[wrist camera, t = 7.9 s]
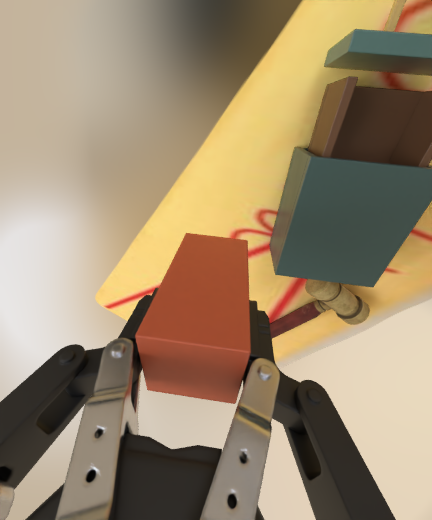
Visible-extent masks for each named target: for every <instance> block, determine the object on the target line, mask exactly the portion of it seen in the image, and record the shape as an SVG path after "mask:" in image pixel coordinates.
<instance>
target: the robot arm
mask: <svg viewBox="0 0 432 520" xmlns="http://www.w3.org/2000/svg"><path fill="white" fill-rule="evenodd" d="M158 289H159V288H156V289H155V290H154V292H153V294H152V296H151V295H146V296H144V297H143V298H142V299H141V300H140V301H139V302H138V304H137V306H136V308H135V309H134V311H133V313H132V315H131V316H130V318H129V320H128V322H127V323H126V325H125V327H124V329H123V330H122V332H121V334H120V336H119V337H118V339H115V340H113V341H111V342H110V343H109V344H108V345H107V346H106V347H103V348H99V349H92V350H86V351H85V350H84V348H83V347H82V346H80V345H76V344H75V345H69V346H66V347H64V348H62V349H60V350H59V351H58V352H57V353H55V354H54V355H53V356H52V357H51V358H50V359H49V360H47V361H46V362H45V363H44V364H43V365H42V366H41V367H40V368H38V369H37V370H36V371H35V372H34V373H33V374H32V375H30V376H29V377H28V378H27V379H26V380H25V381H24V382H23V383H21V384H20V385H19V386H18V387H17V388H16V389H15V390H13V391H12V392H11V393H10V394H9V395H8V396H7V397H6V398H4V399H3V400H2V401H1V402H0V520H5V519H6V518H7V516H8V514H9V511H10V508H11V506H12V503H13V500H14V489H15V488H16V487H17V486H18V485H19V483H20V482H21V481H22V480H23V478H24V477H25V476H26V475H27V473H28V472H29V471H30V470H31V469H32V467H33V466H34V465H35V464H36V463H37V461H38V460H39V459H40V458H41V457H42V455H43V454H44V453H45V452H46V450H47V449H48V448H49V447H50V445H51V444H52V443H53V442H54V441H55V439H56V438H57V437H58V436H59V435H60V433H61V432H62V431H63V430H64V429H65V427H66V426H67V425H68V424H69V422H70V421H71V420H72V419H73V418H74V416H75V415H76V414H77V413H78V411H79V410H80V409H81V408H82V407H83V406H84V404H85V406H84V410H83V414H82V418H81V422H80V425H79V429H78V433H77V437H76V441H75V445H74V449H73V453H72V457H71V461H70V464H69V469H68V472H67V476H66V480H65V483H64V484H63V485H62V486H61V487H60V488H59V489H58V490H57V491H55V492H54V493H53V494H52V495H51V496H50V497H49V498H48V499H47V500H46V501H45V502H44V503H43V504H41V505H40V506H39V507H38V508H37V509H36V510H35V511H34V512H33V513H32V514H31V515H30V516H29V517H28V518H27V519H25V520H264V518H263V516H262V514H261V512H260V509H259V507H258V499H259V494H260V489H261V484H262V479H263V474H264V468H265V463H266V458H267V452H268V447H269V442H270V437H271V428H272V427H271V420H272V418H273V419H274V420H276V421H278V422H280V423H282V424H283V426H284V429H285V432H286V434H287V437H288V440H289V443H290V446H291V449H292V452H293V455H294V458H295V460H296V463H297V466H298V469H299V472H300V475H301V478H302V480H303V484H304V486H305V489H306V492H307V495H308V498H309V501H310V504H311V507H312V510H313V512H314V515H315V518H316V520H396V519H395V517H394V516H393V514H392V512H391V510H390V508H389V506H388V505H387V503H386V501H385V499H384V497H383V496H382V493H381V492H380V490H379V488H378V486H377V484H376V482H375V480H374V479H373V477H372V475H371V473H370V471H369V469H368V468H367V466H366V464H365V462H364V460H363V458H362V456H361V455H360V453H359V451H358V449H357V447H356V445H355V443H354V442H353V440H352V438H351V436H350V434H349V433H348V431H347V429H346V427H345V425H344V423H343V421H342V419H341V418H340V416H339V414H338V412H337V410H336V408H335V407H334V405H333V403H332V401H331V399H330V398H329V396H328V394H327V392H326V391H325V389H324V388H323V387H322V386H321V385H319V384H318V383H316V382H314V381H311V380H304V381H302V382H301V383H300V382H298V381H296V380H294V379H292V378H289V377H288V376H286V375H284V374H283V373H282V372H281V371H280V370H279V369H278V367H277V366H276V364H275V361H274V355H273V347H272V339H271V331H270V323H269V318H268V316H267V314H266V313H265V311H259V310H257V301H251V300H249V309H250V343H251V353H250V356H249V360H248V363H247V367H246V370H245V373H244V377H243V391H242V394H241V397H240V400H239V403H238V406H237V409H236V412H235V415H234V418H233V421H232V424H231V427H230V430H229V433H228V436H227V439H226V442H225V445H224V448H223V451H222V449H217V448H212V447H206V446H200V445H197V446H191V447H185V448H179V449H170V448H168V447H166V446H164V445H163V444H161V443H159V442H157V441H156V440H154V439H152V438H150V437H145V436H140V435H138V404H139V391H140V377H141V375H140V373H141V371H142V364H141V360H140V355H139V351H138V347H137V342H136V338H135V335H136V333H137V331H138V329H139V327H140V325H141V323H142V321H143V319H144V317H145V315H146V313H147V311H148V309H149V307H150V305H151V303H152V301H153V299H154V297H155V295H156V293H157V291H158Z"/></svg>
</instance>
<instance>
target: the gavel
mask: <svg viewBox="0 0 432 520" xmlns="http://www.w3.org/2000/svg"><path fill="white" fill-rule="evenodd" d="M305 288H306V291H307V292H308V293H309V294H310V295H312V296H313V297H314V298H316V299H317V301H315V302H312V303H309V304H306V305H305V306H303V307H301V308H299V309H297V310H295V311H294V312H292V313H290V314H288V315H286V316H284V317H282V318H281V319H279V320H277V321H275V322H273V323H271V324H270V331H271V339H272V338H274V337H276V336H278V335H280V334H282V333H284V332H286V331H289V330H291V329H293V328H295V327H297V326H299V325H301V324H303V323H305V322H307V321H309V320H311V319H313V318H315V317H317V316H318V315H320V314H321V313H323V312H325V311H326V310H329V309H333V310H334V311H335V312H336V314H337V315H338V317H340V318H341V319H342V320H344V321H345V322H346V323H348V324H352V325H355V324H360V323H362V322H363V321H365V320H366V319H367V317H368V316H369V312H370V309H369V306H368V304H367V303H365V302H364V301H363V300H362V299H361V298H360V297H358V296H356V295H353V294H352V293H351V292H350V291H348V290H347V289H346V288H345V287H344V286H343V285H341V284H340V283H335V282H328V281H320V280H312V279H308V280H307V282H306V286H305Z"/></svg>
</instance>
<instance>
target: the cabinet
mask: <svg viewBox="0 0 432 520" xmlns="http://www.w3.org/2000/svg"><path fill="white" fill-rule="evenodd" d="M431 201H432V166H430V165H428V166H427V167H417V166H407V165H397V164H388V163H378V162H368V161H358V160H348V159H339V158H329V157H319V156H316V155H314V154H312V153H310V152H308V148H301V147H294V151H293V155H292V159H291V163H290V167H289V171H288V175H287V178H286V182H285V186H284V190H283V194H282V198H281V202H280V206H279V209H278V213H277V217H276V221H275V225H274V229H273V233H272V237H271V240H270V244H269V245H270V251H271V256H272V261H273V266H274V271H275V275H282V276H289V277H297V278H305V279H312V280H320V281H328V282H335V283H343V284H351V285H358V286H366V287H374V285H375V284H376V282H377V281H378V279H379V278H380V277H381V275H382V274H383V272H384V271H385V269H386V268H387V266H388V265H389V263H390V262H391V260H392V259H393V257H394V256H395V254H396V253H397V251H398V250H399V248H400V247H401V245H402V244H403V242H404V241H405V239H406V238H407V236H408V235H409V234H410V232H411V231H412V229H413V228H414V226H415V225H416V223H417V222H418V220H419V219H420V217H421V216H422V214H423V213H424V211H425V210H426V208H427V207H428V205H429V204H430V202H431Z"/></svg>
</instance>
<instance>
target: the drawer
mask: <svg viewBox="0 0 432 520" xmlns="http://www.w3.org/2000/svg"><path fill="white" fill-rule="evenodd" d="M405 2H406V0H395V1H394V3H393V6H392V9H391V12H390V14H389V17H388V20H387V22H386V25H385V28H384V31H376V30H362V29H355V30H353V31H352V32H351V33H350V34H348V35H347V36H346V37H345V38H343V39H342V40H341V41H340V42H338V43H337V44H336V45H335V46H333V47H332V48H331V49H330V50H329V51H328V54H327V57H326V61H325V65H324V67H331V68H343V69H355V70H367V71H379V72H392V73H404V74H416V75H428V76H432V35H431V34H417V33H403V32H394V30H395V28H396V25H397V22H398V20H399V17H400V15H401V12H402V10H403V7H404V4H405ZM357 80H358V77H347V78H344V79H342V80H339V81H336V82H334V83H331V84H328V85H327V86H326V90H325V93H324V97H323V100H322V104H321V107H320V110H319V114H318V117H317V121H316V124H315V128H314V131H313V134H312V138H311V141H310V145H309V148H308V152H310V153H312V154H314V155H316V156H319V157H329V158H339V159H348V160H358V161H368V162H378V163H388V164H397V165H407V166H417V167H427V166H428V165H429V163H430V161H431V160H432V91H427V92H420V91H408V90H396V89H384V88H373V87H361V86H356V83H357Z"/></svg>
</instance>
